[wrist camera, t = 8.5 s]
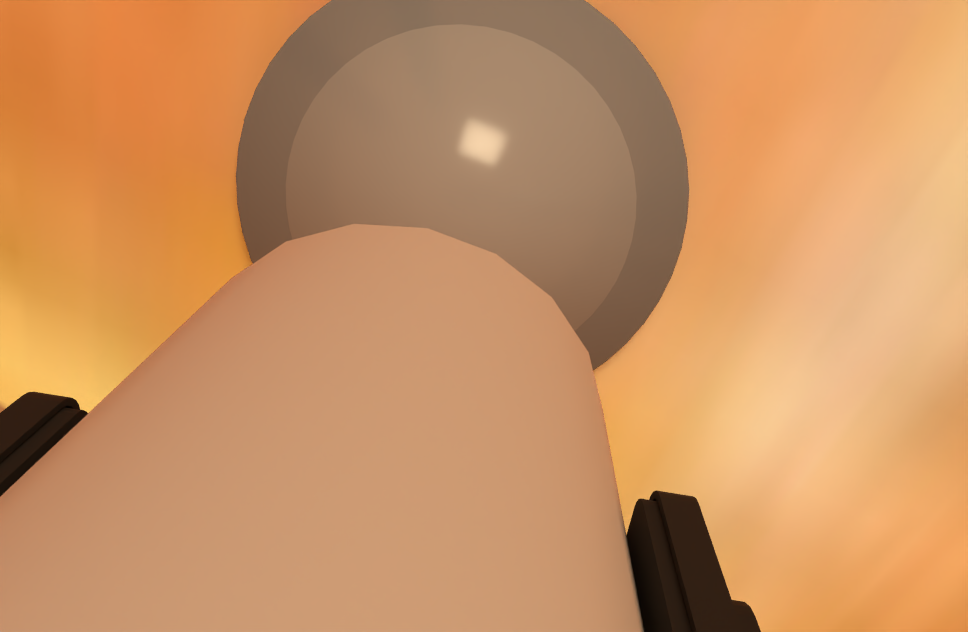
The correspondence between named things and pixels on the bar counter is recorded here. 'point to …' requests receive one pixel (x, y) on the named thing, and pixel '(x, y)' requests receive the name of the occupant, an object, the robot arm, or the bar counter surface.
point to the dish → (477, 146)
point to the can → (336, 462)
